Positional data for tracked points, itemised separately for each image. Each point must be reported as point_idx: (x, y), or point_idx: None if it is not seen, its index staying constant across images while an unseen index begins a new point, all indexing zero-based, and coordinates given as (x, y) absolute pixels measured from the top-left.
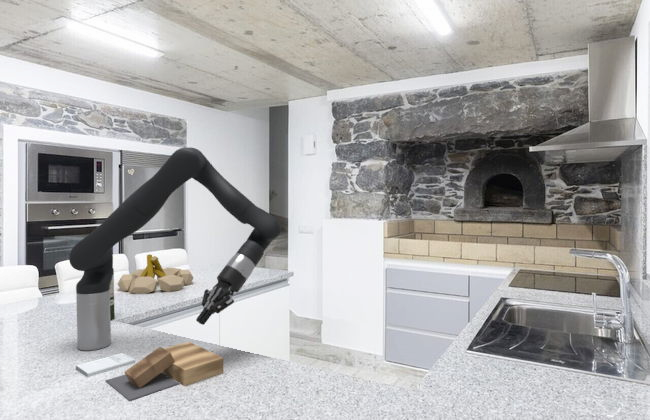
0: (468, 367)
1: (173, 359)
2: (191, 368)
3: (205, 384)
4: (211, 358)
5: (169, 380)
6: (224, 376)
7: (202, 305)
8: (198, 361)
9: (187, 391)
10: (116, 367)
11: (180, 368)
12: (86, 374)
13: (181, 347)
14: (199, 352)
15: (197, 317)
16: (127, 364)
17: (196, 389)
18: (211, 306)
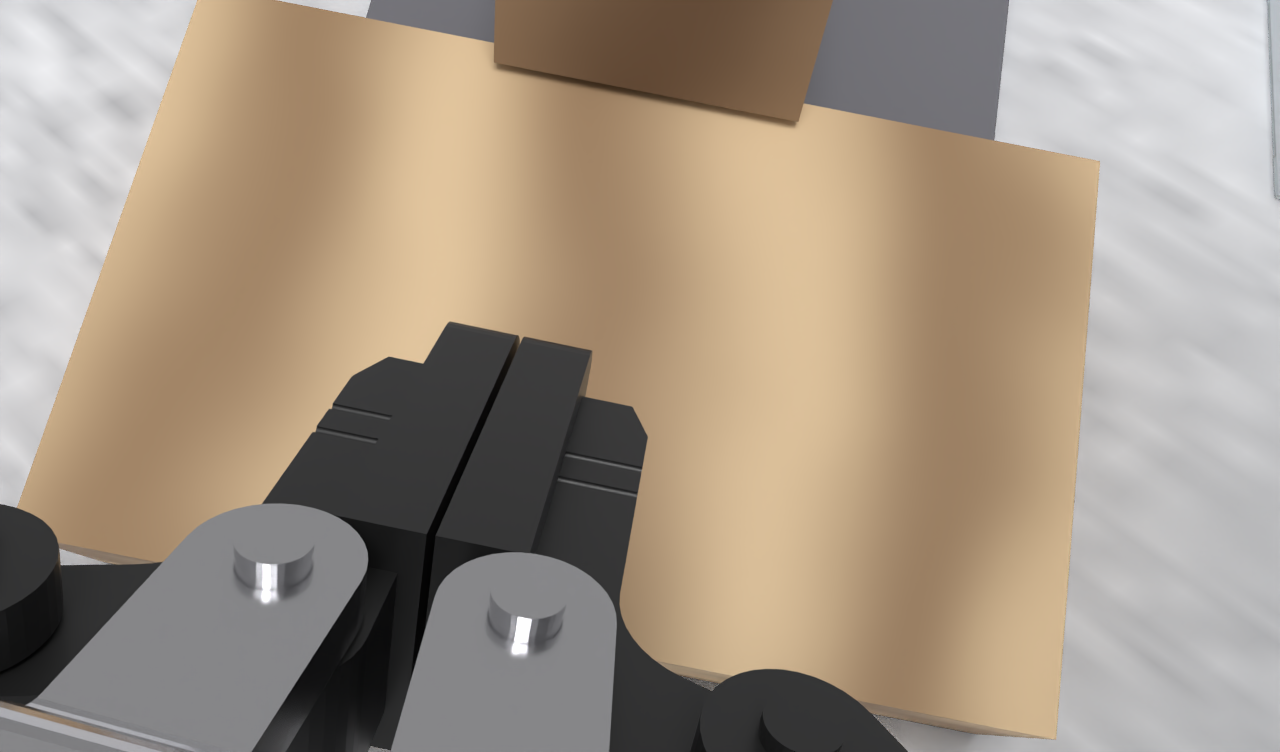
0: None
1: (495, 20)
2: (175, 70)
3: (82, 227)
4: (155, 416)
5: None
6: (17, 490)
7: (769, 683)
8: (248, 247)
9: (141, 34)
10: (1275, 10)
11: (306, 10)
12: None
13: (916, 482)
14: None
15: (583, 370)
16: (1274, 116)
17: (88, 104)
18: (134, 637)
